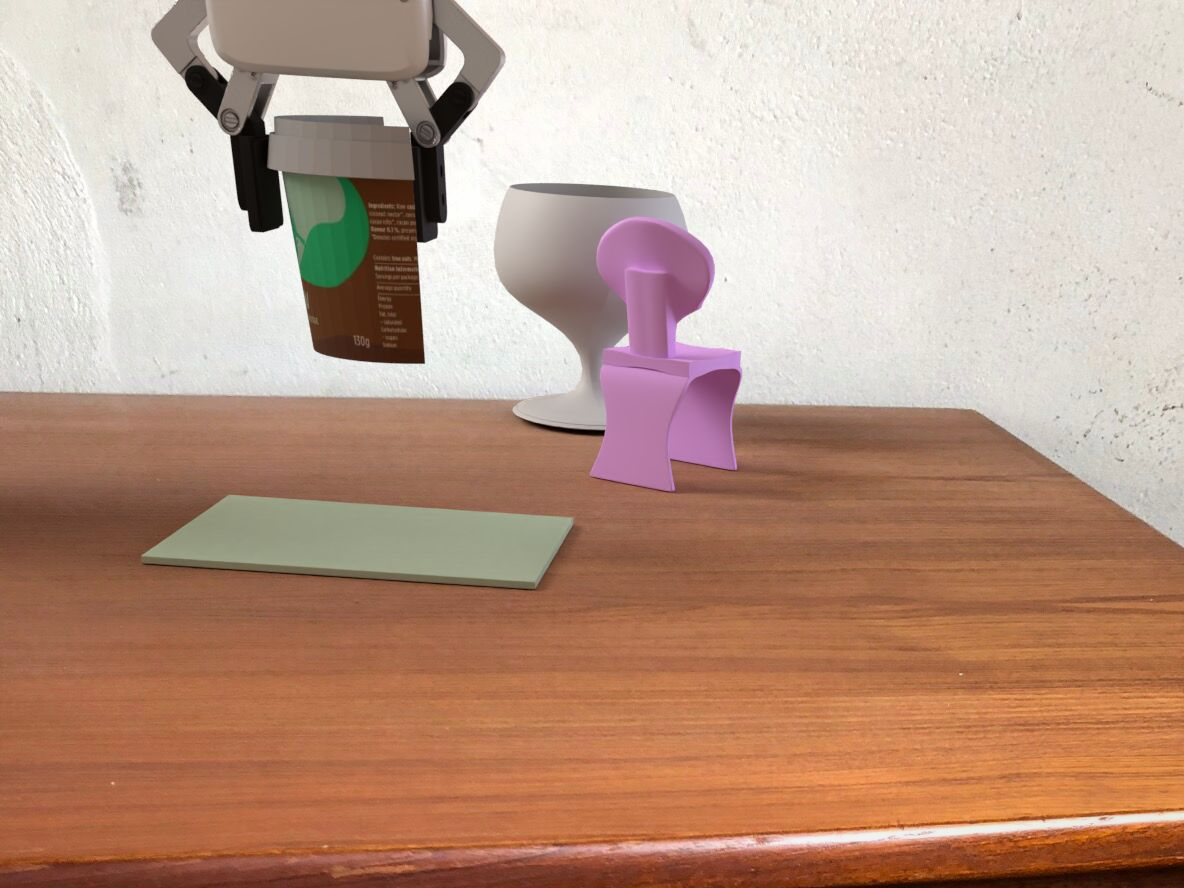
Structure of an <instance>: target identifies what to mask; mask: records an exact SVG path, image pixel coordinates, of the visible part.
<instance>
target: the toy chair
mask: <svg viewBox="0 0 1184 888" xmlns="http://www.w3.org/2000/svg"><path fill="white" fill-rule="evenodd" d="M596 259H597V267H598V270H599V273H600V275H601V276H602V278H603V280H604V281H605V282H606V283H607V285H608V286H609V287H610V288H611V289H612V290H613V291H615V292H616V293H617V294H618V295H619V297H620V298H621V299H622V300H623V301H624V302H625V303H626V304H627V317H628V345H626V346H615V347H611V348H606V349H603V366H602V368H601V371H600V379H601V386H602V391H603V396H604V401H605V408H606V430H605V431H604V436H603V440H602V443H601V446H600V449H599V450H598V451H599V452H598V454H597V457H596V459H595V460H594V464H593V465H592V468H591V470H590V472H589V476H590V477H593V478H597V479H602V480H606V481H612V482H616V483H617V482H618V483H623V484H626V485H627V484H628V485H632V486H639V487H643V488H648V489H653V490H659V491H664V492H674V491H675V490H676V489H675V482H674V477H673V470H672V465H671V460H673V461H679V462H684V463H689V464H695V465H701V466H705V467H712V468H717V469H721V470H722V469H723V470H727V471H736V470H738V464H737V458H736V453H735V446H734V438H733V414H734V407H735V403H736V399H737V395H738V393H739V390H740V386H741V383H742V379H743V369H742V366H741V360H742V359H741V357H742V352H741V350H736V349H728V348H721V347H720V348H717V347H704V346H698V345H692V344H688V343H684V342H683V343H682V342H679V341H677V340H676V339H677V330H678V329H677V328H678V324H679V323H680V322H681V321H682V320H683V319H684V318H686V317H688V316H689V315H691V314H693V313H695V312H697V311H699V310H701V309H702V307H703V304H704V302H705V300H706V299H707V297H708V295H709V293H710V291H711V289H712V288H713V287H712V286H713V283H714V281H715V276H716V265H715V260H714V257H713V255H712V253H711V251H710V250H709V248H708V247H707V246H706V245H705V244H704V243H703V242H702V241H701V240H700V239H699V238H698V237H696V236H695V235H694V234H692V233H690V232H689V231H688V232H687V231H685V230H684V229H682V228H680V227H678V226H676V225H674V224H672V223H670V222H667V221H664V220H661V219H656V218H648V217H631V218H627V219H624V220H622V221H620V222H618V223H616V224H615V225H613V226H612V227H611V228H609V229H608V230H607V231H606V232H605V234H604V235H603V236H602V238H601V240H600V243H599V246H598V249H597V258H596Z"/></svg>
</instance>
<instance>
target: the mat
mask: <svg viewBox="0 0 1184 888" xmlns="http://www.w3.org/2000/svg"><path fill="white" fill-rule="evenodd" d="M573 526H574V517H571V516H570V517H568V516H555V515H543V514H542V515H540V514H524V513H509V512H495V511H479V510H466V509H465V510H464V509H449V508H435V507H419V506H407V505H404V506H403V505H391V504H389V505H388V504H374V503H360V502H345V501H328V500H314V499H313V500H312V499H299V498H298V499H297V498H296V499H295V498H284V497H267V496H253V495H239V494H228V495H226V496H225V497H224V498H222V499H221V500H218V501H217V503H215V504H213V505H212V506H210V507H209V508H208V509H207V510H204V512H202V513H200V514H199V515H198V516H196V517H195V518H194V519H192V520H191V521H189V522H187V523H186V524H185V525H183V526H182V527H180V528H179V529H177V530H176V531H175V532H173V533H171V534H170V535H169V536H167V537H166V538H164V539H163V540H161V541H160V542H159V543H158V544H156V545H154V546H153V547H152V548H150V549H148V550H147V551H146V552H144V553H143V554H141V555H140V559H141V563H142V564H145V565H147V564H148V565H162V566H177V567H191V568H207V569H220V570H221V569H222V570H236V571H250V572H251V571H253V572H265V573H266V572H268V573H280V574H283V573H284V574H297V575H298V574H299V575H314V576H325V577H328V576H329V577H341V578H357V579H358V578H359V579H370V580H371V579H373V580H386V581H387V580H388V581H401V582H402V581H403V582H418V583H431V584H432V583H433V584H449V585H463V586H478V587H490V588H491V587H493V588H508V589H523V590H536V588H537V587H538V585H539V583H540V582H541V580H542V578H543V577H544V575H545V573H546V572H547V570H548V568H549V567H550V564H551V563H552V562H553V560H554V558H555V556H556V555H557V553H558V551H559V550H560V548H561V546H562V544H563V543H564V541H565V539H566V537H567V536H568V534H569V532H570V531H571V530H572V528H573Z"/></svg>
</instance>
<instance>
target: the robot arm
mask: <svg viewBox="0 0 1184 888" xmlns="http://www.w3.org/2000/svg"><path fill="white" fill-rule="evenodd" d="M206 27H208V30H209V34H210V39H211V42H212V46H213V49H214V51H215V53H216V55H217V56H218V57H219V58H220V59H221V60H222V61H223V62H225V63H226V64H228V65H230V66H231V67H233V68H232V70H231V74H230V77H229V80H227V78H226V77H224V75H223V74H221V72H220V70H218V69H217V68H216V67H214V66H212V64H211V63H210V62H209V60H208V59H207V58H206V55H205V54H204V53H203V52H202V50H201V49H200V48H201V47H199V42H198V39H199V36H200V34H201V33H202V32H203V31H204V30H205V28H206ZM150 37H151V41H152V42H153V44H154V46H155V47H156V48H157V49H158V50H159V52H160V53H161V54H162V55H163V57H164V58H165V59H166V61H167V62H168V63H169V65H171V67H172V68H173V69H174V71H175V72H176V73H177V74H178V75H180V77H181V78H182V79H183V80H184V82H185V85H186V87H187V89H188V90H189V92H190V93H191V94H192V95H193V96H194V97H195V98H196V99H197V100H198V101H199V102H200V103H201V105H203V107H204V108H205V109H206V110H207V111H208V112H209V113H210V114H211V115H212V116H213V117H214V119H215V120H216V121H217V123H218V126H219V128H220V129H221V131H222V132H224V133H225V134H226V135H228V136H229V141H230V148H231V149H230V150H231V157H232V165H233V173H234V181H235V190H236V199H237V204H238V206H239V209H240V210H241V211H245V212H247V218H248V226H249V229H250V231H251V232H252V233H267V232H270V231H275V230H279V229H280V228H281V227H283V225H284V223H285V222H284V209H283V202H282V201H283V200H282V192H281V182H280V171H277V170H273V169H270V168H268V167H267V160H268V146H269V133H267V131H266V122H265V121H264V120H265V117H266V114H267V112H268V109H269V106H270V103H271V101H272V97H273V94H274V92H275V89H276V86H277V84H278V80H279V77H280V75H284V76H295V77H296V76H297V77H313V78H327V79H329V78H330V79H341V80H343V79H344V80H345V79H346V80H360V81H376V82H377V81H378V82H379V81H381V82H386V85H387V86H388V89H389V90H390V92H391V94H392V96H393V98H394V100H395V102H396V104H397V106H398V108H399V110H400V113H401V115H402V116H403V118H404V120H405V122H406V124H407V127H409V131H410V143H411V147H412V158H413V168H414V179H415V180H413V189H414V204H415V219H416V234H417V244H418V243H420V244H426V243H429V242H431V241H434V240H437V239H438V235H439V224H446V223H447V219H448V200H447V199H448V198H447V182H446V180H447V178H446V162H445V160H446V159H445V146H444V145H447V144H448V143H449V142H450V140H451V138H452V136H453V135H454V134H455V133H456V131H457V130H458V129H459V128H460V127H461V125H462V124H464V122H465V121H466V120H467V118H469V116H470V115H471V114H472V113H473V112H474V111H475V110H476V108H477V106H478V105H479V103H480V100H481V98H483V96H484V95H485V93H486V92H487V91H488V89H489V88H490V86H492V83H493V82H494V81H495V79H496V78H497V76H498V75H499V73H500V72H501V71H502V69H503V67H504V66H505V64H506V58H507V57H506V53H505V50H504V49H503V47H502V46H500V44H498V42H497V41H495V40H494V39H493V37H491V36H490V35H489V33H488V32H486V30H485V29H483V27H482V26H481V25H480V24H478V22H477V21H476V20H475V19H473V17H471V15H469V13H468V12H467V11H466V10H465V9H464V8H463V7H462V6H461V5H460V4H459V3H458V2H457V1H456V0H176V1H175V2H174V3H173V4H172V5H171V6H170V8H169V9H168V10H167V11H165V13H164V14H163V15H162V16H161V17H160V18H159V19H158V20H157V21H156V23H155V24H154V25H153V26H152V28H151V29H150ZM448 39H449V40H450V41H451V42H452V43H453V44H454V45H455V46H456V47H457V48H458V49H459V50H460V52H461V53H462V55H463V59H464V60H463V65H462V67H461V69H460V71H459V72H458V74H457V76H456V78H455V79H454V80H453V82H452V83H451V84H449V86H447V87H446V89H445V90H444V91H443V93H442V94H441V95H440V96H439V97H438V98H437V96H436V93H435V91H434V90H433V88H432V86H431V84H430V81H429V80H428V79H431V78H434V77H435V76H437V75H440V74H441V73H442V71H443V70H444V69H445V67H446V65H447V59H448Z"/></svg>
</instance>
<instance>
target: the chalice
mask: <svg viewBox="0 0 1184 888" xmlns="http://www.w3.org/2000/svg"><path fill="white" fill-rule="evenodd" d="M631 217H648V218H656V219H661V220H664V221H667V222H670V223H672V224H674V225H676V226H678V227H680V228H682V229H684V230H685V231H687V232H689V230H688V226H687V222H686V218H685V215H684V212H683V209H682V207H681V205H680V202H679V200H678V198H677V196H676V194H674V193H672V192H667V191H664V190H656V189H649V188H641V187H640V188H639V187H633V186H632V187H631V186H620V185H607V184H606V185H605V184H591V183H570V182H569V183H567V182H566V183H564V182H529V183H528V182H527V183H526V182H525V183H515V184H511V185H509V186H508V188H507V190H506V192H505V194H504V196H503V200H502V202H501V203H500V208H499V211H498V215H497V219H496V225H495V226H496V227H495V231H494V243H493V256H494V258H493V259H494V268H495V271H496V273H497V276H498V279H499V282H500V283H501V284H502V286H503V288H505V291H506V292H507V293H508V294H510V296H512V297H513V298H514V299H515V300H516V301H517V302H519V304H521V305H522V306H524V307H525V308H526V309H528V310H529V311H531V312H532V313H534V314H536V315H537V316H539V317H540V318H542V319H543V320H545V321H546V322H548V323H549V324H550V325H552V326H553V327H554V328H556V329H557V330H558V331H559V332H561V333H562V334H563V335H564V336H565V337H566V338H567V339H568V340H569V342H570V343H571V344H572V345H573V347H574V349H575V350H576V352H577V354H578V356H579V360H580V364H581V373H580V380H579V381H578V383H577V384H576V385H575V387H574V389H572V390H571V391H569V392H567V393H566V392H565V393H554V394H553V393H552V394H545V395H541V396H535V397H530V398H527V399H523V400H521V401H519V402H517V404H515V406H513V407H512V413H513V414H514V415H515V416H517V417H518V418H521V419H523V420H526V421H529V422H532V423H536V424H539V425H544V426H549V427H555V428H560V429H567V430H568V429H569V430H580V431H597V432H598V431H601V432H605V430H606V408H605V401H604V396H603V391H602V386H601V379H600V371H601V368H602V366H603V349H606V348H611V347H616V346H617V344H618V343H619V342H621V340H622V339H624V338H625V336H627V335H629V333H628V317H627V304H626V303H625V302H624V301H623V300H622V299H621V298H620V297H619V295H618V294H617V293H616V292H615V291H613V290H612V289H611V288H610V287H609V286H608V285H607V283H606V282H605V281H604V280H603V278H602V276H601V275H600V273H599V270H598V267H597V259H596V258H597V249H598V246H599V243H600V240H601V238H602V236H603V235H604V234H605V232H606V231H607V230H608V229H609V228H611V227H612V226H613V225H615V224H616V223H618V222H620V221H622V220H624V219H627V218H631Z"/></svg>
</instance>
